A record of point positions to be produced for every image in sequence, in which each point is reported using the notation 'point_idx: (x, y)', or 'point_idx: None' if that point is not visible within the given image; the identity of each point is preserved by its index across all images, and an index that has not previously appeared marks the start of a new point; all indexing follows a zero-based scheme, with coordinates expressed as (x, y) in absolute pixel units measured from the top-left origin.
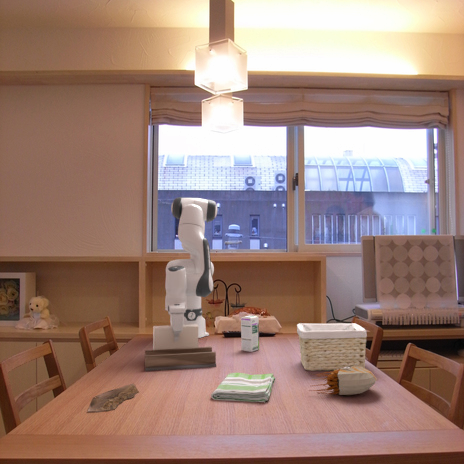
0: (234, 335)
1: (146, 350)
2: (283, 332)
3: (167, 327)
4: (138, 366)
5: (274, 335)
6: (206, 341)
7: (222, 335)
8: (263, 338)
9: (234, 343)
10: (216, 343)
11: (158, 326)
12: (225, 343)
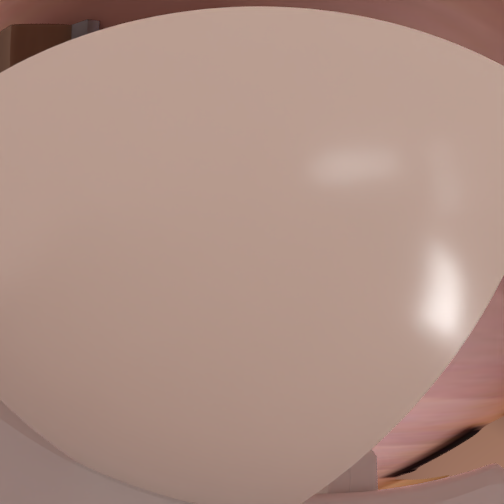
0: (462, 440)
1: (2, 42)
2: (401, 480)
3: (65, 449)
4: (37, 10)
5: (390, 477)
6: (469, 399)
7: (488, 422)
8: (379, 471)
9: (375, 446)
10: (416, 420)
11: (182, 436)
12: (394, 435)
